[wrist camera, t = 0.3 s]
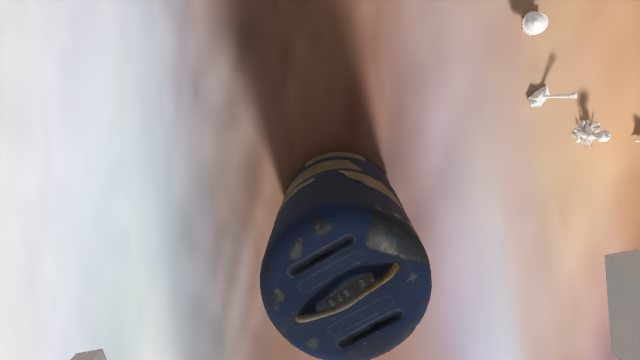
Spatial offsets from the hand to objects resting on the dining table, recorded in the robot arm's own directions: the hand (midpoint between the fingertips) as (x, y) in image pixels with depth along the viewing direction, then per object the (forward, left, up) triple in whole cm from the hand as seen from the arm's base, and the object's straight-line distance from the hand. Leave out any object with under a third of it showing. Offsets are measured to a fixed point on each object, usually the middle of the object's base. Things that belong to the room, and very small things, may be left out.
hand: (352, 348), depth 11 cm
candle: (+4, -1, -28) cm, 28 cm away
